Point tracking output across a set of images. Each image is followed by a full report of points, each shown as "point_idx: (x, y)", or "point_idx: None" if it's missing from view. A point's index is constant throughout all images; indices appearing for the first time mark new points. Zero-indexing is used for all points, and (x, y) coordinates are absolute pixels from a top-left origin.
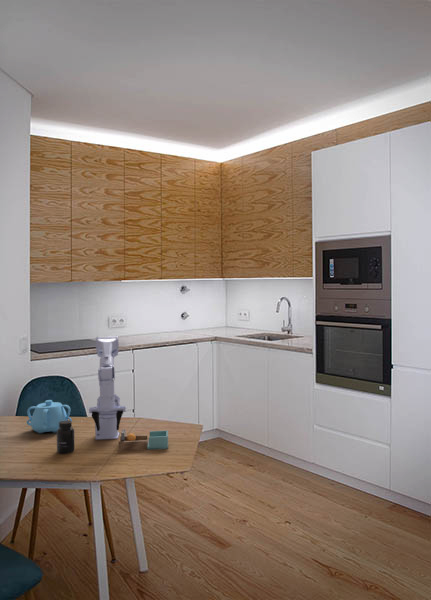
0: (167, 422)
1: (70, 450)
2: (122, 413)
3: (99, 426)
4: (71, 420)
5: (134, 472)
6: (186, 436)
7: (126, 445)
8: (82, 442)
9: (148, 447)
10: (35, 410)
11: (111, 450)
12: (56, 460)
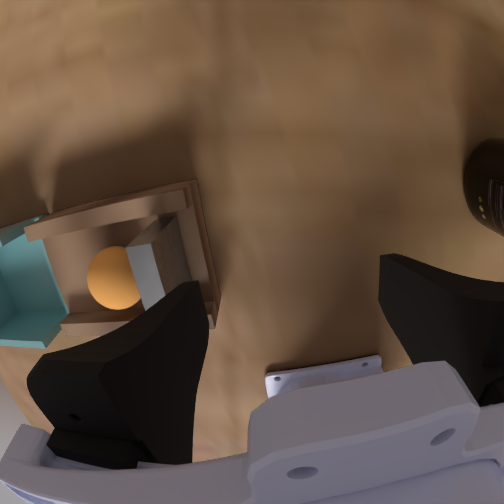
0: None
1: (480, 151)
2: (30, 388)
3: (390, 307)
4: None
5: None
6: (8, 365)
7: (135, 195)
8: None
9: (37, 217)
10: None
11: (248, 187)
12: (492, 58)
